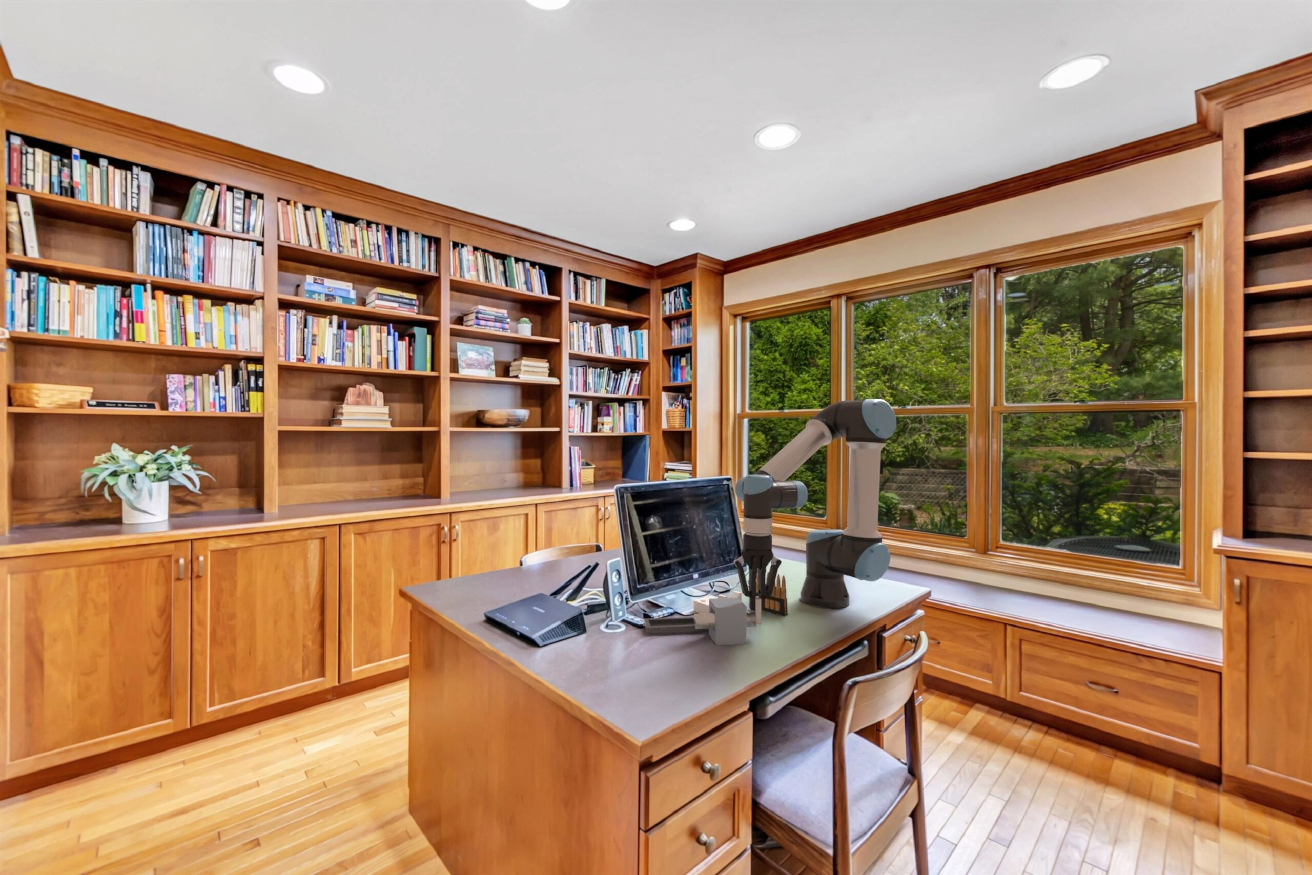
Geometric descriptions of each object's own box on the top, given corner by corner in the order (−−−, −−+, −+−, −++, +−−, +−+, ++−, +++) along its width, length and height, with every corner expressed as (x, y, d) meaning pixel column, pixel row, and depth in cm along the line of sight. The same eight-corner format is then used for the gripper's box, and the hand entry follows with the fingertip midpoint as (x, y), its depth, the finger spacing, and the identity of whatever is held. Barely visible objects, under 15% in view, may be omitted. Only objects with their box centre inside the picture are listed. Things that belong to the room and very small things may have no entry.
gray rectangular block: (737, 632, 149) (737, 597, 149) (746, 643, 141) (746, 606, 141) (708, 633, 148) (709, 598, 148) (716, 644, 140) (716, 607, 140)
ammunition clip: (753, 608, 170) (754, 569, 170) (757, 607, 172) (757, 568, 172) (784, 616, 163) (784, 576, 163) (787, 615, 164) (788, 575, 164)
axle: (751, 623, 148) (752, 609, 148) (756, 628, 144) (756, 614, 144) (693, 626, 145) (693, 611, 145) (696, 631, 142) (696, 616, 142)
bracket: (741, 618, 162) (741, 592, 162) (724, 623, 157) (724, 597, 157) (710, 607, 172) (710, 583, 172) (693, 611, 167) (693, 587, 167)
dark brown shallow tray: (717, 622, 157) (717, 615, 157) (724, 631, 150) (724, 624, 150) (644, 625, 154) (644, 618, 154) (647, 634, 147) (647, 627, 147)
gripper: (776, 530, 150) (775, 616, 150) (729, 531, 149) (729, 618, 149) (786, 535, 143) (785, 626, 143) (737, 536, 141) (737, 628, 141)
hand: (756, 622), depth 146 cm, fingers closed
